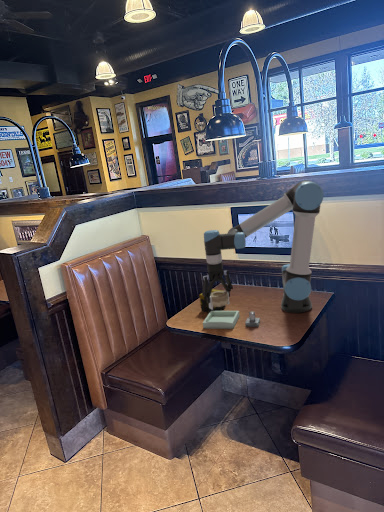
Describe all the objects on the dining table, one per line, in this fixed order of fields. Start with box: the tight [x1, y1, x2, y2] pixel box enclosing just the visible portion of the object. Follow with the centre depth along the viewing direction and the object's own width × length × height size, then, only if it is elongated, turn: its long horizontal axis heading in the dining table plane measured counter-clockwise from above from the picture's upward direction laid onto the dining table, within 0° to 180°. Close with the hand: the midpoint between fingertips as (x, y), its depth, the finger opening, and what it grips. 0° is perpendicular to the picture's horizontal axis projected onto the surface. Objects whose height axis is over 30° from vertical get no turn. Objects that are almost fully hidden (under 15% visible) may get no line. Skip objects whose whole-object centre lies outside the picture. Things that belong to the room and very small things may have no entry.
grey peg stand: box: [244, 311, 261, 328], centre depth 180 cm, size 6×6×6 cm
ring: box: [210, 290, 230, 307], centre depth 187 cm, size 11×9×5 cm
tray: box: [202, 310, 241, 330], centre depth 188 cm, size 15×15×3 cm
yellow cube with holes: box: [198, 288, 227, 314], centre depth 206 cm, size 10×10×10 cm
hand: (219, 306), depth 186 cm, fingers closed on ring, 9 cm apart
